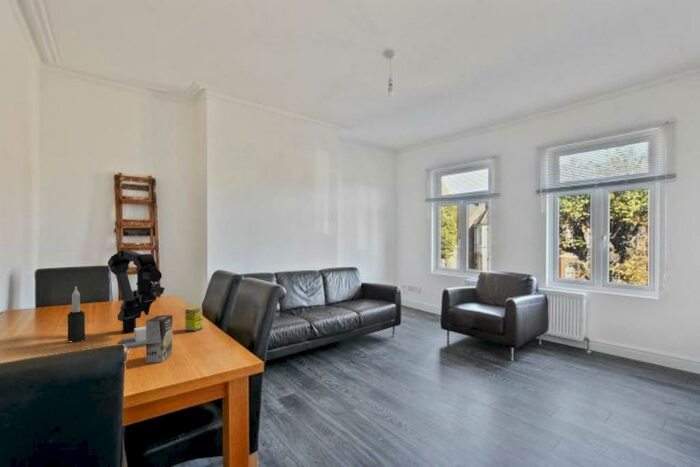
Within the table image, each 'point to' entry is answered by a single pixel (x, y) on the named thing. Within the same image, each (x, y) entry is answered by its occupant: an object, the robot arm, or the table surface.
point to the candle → (76, 319)
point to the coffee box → (159, 338)
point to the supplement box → (193, 319)
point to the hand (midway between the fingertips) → (144, 313)
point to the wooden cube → (140, 333)
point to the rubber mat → (132, 342)
